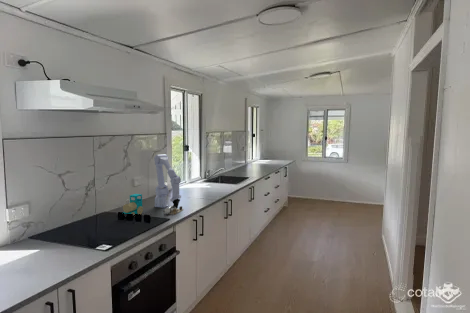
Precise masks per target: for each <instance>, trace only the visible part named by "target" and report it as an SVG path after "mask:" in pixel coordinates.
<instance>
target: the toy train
mask: <svg viewBox="0 0 470 313" xmlns="http://www.w3.org/2000/svg"><path fill="white" fill-rule="evenodd" d="M138 197H140V198H138ZM132 198H134V199H132ZM125 201H126V202H125V203H124V204H123V206H122V210H123V212H122V214H123V213H124V214H133V215H135V214H137V215H139V214H140V215H142V214H143V212H144V207H143V194H140V193H134V194H130V195H129V199H125ZM135 216H136V215H135Z"/></svg>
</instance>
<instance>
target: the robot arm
mask: <svg viewBox="0 0 470 313" xmlns="http://www.w3.org/2000/svg"><path fill="white" fill-rule="evenodd" d="M153 162H154V165H155V170H156V171H155V172H156V178H157V185H156V187H155V191H154V192H155V195H156V196H155V197H154V207H155V208H162V209H164V208H165V209H166V207H167V208H168V207H170V206H169V204H168V203H167V202H168V201H167V199H168V198H167V197H168V195H169V192H170V190H169V188H168V185H167V184H166V183H165V176H164V170H163V166H164V167H165V169H166V173H167V175H168V177H169V179H170V180H169V182H170V184H171V185H170V186H171V195H172V197H171V198H170V199H169V200H170V202H171V203H172V204H173V205H175V206H176V209H179V204H180V201H181V198H182V195H181V194H180V184H181V182H182V180H181V177H180V176H179V175H178V174H177V173H176V171H175V169H174V168H172V167H171V164H170V161H169V157H168V155H167V154H166V153H165V154H155V155H154V159H153Z"/></svg>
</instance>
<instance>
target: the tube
mask: <svg viewBox="0 0 470 313" xmlns="http://www.w3.org/2000/svg"><path fill="white" fill-rule="evenodd" d="M174 209H176V206H175V205H174V204H173V205H170V206H168V207H167V208H165V209H163V210H162V212H163V215H169V214H168V213H170V212H172V211H173V210H174Z"/></svg>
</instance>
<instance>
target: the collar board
mask: <svg viewBox="0 0 470 313" xmlns="http://www.w3.org/2000/svg"><path fill="white" fill-rule="evenodd" d="M182 211H184V208H183V206H182V205H181V206H178V208H177V209H174V210H173V211H172V212H170V213H168V214H167V215H177V214H178V213H180V212H182Z"/></svg>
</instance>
